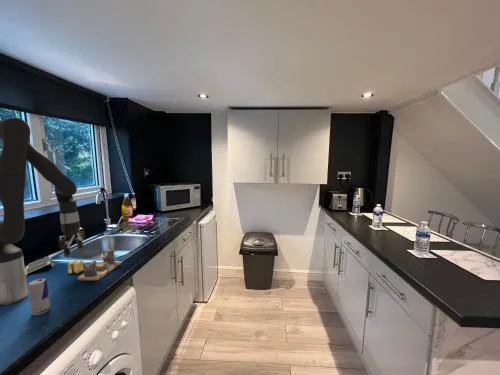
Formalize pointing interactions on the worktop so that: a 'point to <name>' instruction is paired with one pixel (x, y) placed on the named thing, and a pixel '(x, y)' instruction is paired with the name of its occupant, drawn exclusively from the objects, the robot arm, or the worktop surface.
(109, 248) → the shafts
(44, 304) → the energy drink
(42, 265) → the metal bracket
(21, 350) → the worktop surface
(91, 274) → the coupling base
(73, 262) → the slotted brass block
